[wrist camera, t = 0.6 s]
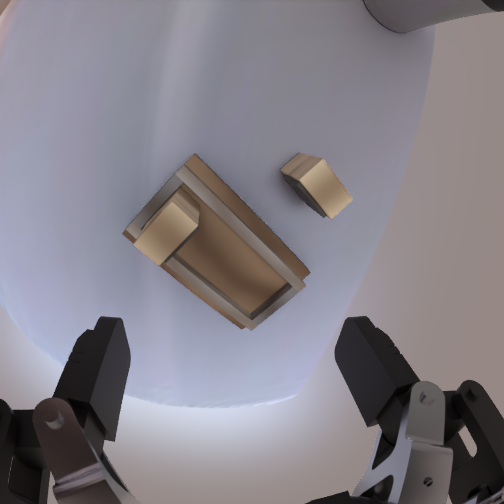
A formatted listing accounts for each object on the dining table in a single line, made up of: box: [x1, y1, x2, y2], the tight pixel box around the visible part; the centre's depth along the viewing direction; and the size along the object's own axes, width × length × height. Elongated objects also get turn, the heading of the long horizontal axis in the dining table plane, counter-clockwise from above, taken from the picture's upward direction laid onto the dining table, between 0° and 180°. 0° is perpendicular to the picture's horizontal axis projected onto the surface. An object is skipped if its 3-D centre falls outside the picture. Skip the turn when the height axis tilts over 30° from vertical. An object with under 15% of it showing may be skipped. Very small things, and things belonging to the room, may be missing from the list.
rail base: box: [122, 154, 310, 331], centre depth 29 cm, size 12×20×8 cm, turn 42°
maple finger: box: [280, 153, 353, 219], centre depth 28 cm, size 5×3×7 cm, turn 42°
